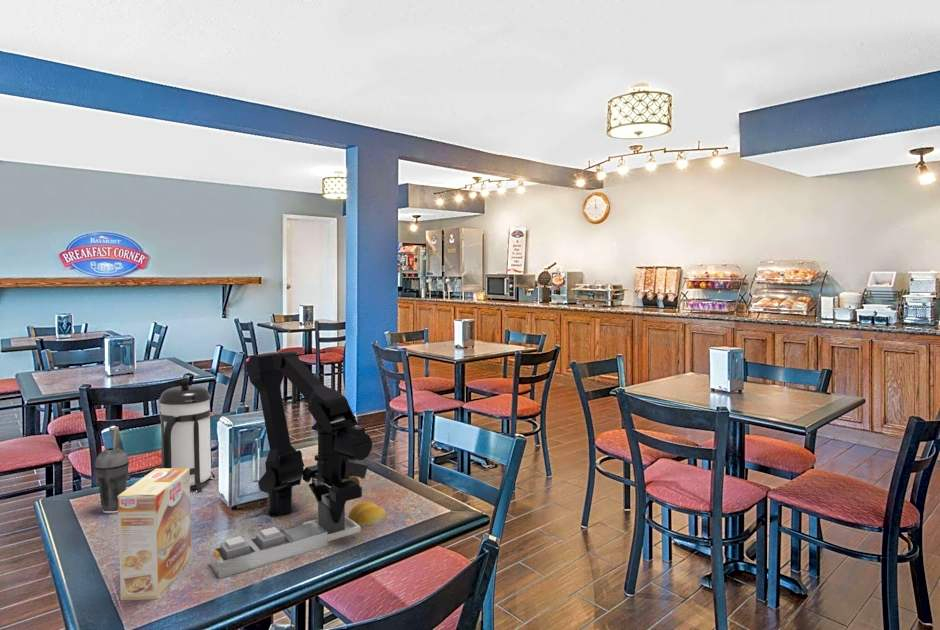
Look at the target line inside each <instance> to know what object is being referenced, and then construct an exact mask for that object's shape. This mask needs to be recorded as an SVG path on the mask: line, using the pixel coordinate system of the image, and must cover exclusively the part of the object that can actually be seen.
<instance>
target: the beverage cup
mask: <svg viewBox="0 0 940 630" xmlns="http://www.w3.org/2000/svg"><path fill="white" fill-rule="evenodd" d="M117 432H118V431H117V429H116V428H115V429H114V432H113V443H112V444H113V445H112V447H108V448H105V449H104V450H102V451H101V452H100V453H99V454H98V455H97V456H96V459H95V463H94V464H95V465H94V467H93V468H94V469H95V474H96V477H97V484H98V489H99V490H98V491H99V497H100V506H101V509H103V510H104V511H117V510H118V497H117V496H118V495H120V494H121V493H122V492H124V491H125V490H127V478H128V470H129V464H130V461H129V457H128V455H127V453H126V452H125V451H124V450H123V449H121V448H119V447H116V445H117ZM103 510H102V511H103Z"/></svg>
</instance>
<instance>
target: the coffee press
mask: <svg viewBox="0 0 940 630" xmlns="http://www.w3.org/2000/svg"><path fill="white" fill-rule="evenodd" d="M179 382H180V385H179V386H173V387H170V388H168V389H166V390H164V391H162V393H161V395H160V397H158V403H159V404H160V412H159V420H160V429H161V430H160V434H161V435H160V436H161V439H160V440H161V443H160V444H161V468H190V487H193V489H194V491H195V490H197V491H199V492H201V491H200V490H202V491H203V487H202V483H204V482H206V481H208V478H209V480H210V478H211V477H213V478H214V479H215V478H216V476H215V474H214V473H213V472H212V462H211V461H212V459H211V455H212V453H211V452H212V451H211V407H210V405H211V404H210V400H211V398H212V394H211V393H210V391H208V389H207V388H206V387H203V386H199V385H190V379H189V378H187V377H183V378H181V380H180V381H179Z"/></svg>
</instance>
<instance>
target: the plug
mask: <svg viewBox="0 0 940 630" xmlns="http://www.w3.org/2000/svg"><path fill="white" fill-rule="evenodd" d="M328 495H329V493H327V494H323V495H322V501H318V502H317V513H318V516H317V519H318V525H319V526H321V527H322V528H323V529H324V530H325V531H327V535H328V534H331V533H335V532H338V531H342V530H345V515H346V512H345V511H346V505H345V506H344V508H343V512H342V515H341V518H340V521H339V522H338V523H334V522H333V519H332V516H331V513H330V510H329V507H328V505H327V502H326V499H325V496H328Z"/></svg>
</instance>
